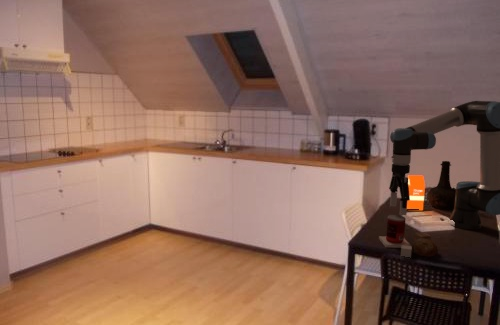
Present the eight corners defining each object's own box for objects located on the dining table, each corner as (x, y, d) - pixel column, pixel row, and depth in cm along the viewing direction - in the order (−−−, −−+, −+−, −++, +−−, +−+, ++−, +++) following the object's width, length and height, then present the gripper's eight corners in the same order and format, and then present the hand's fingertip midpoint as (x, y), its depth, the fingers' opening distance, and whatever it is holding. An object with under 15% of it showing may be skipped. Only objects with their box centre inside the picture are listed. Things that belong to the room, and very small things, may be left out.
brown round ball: (423, 242, 197) (424, 232, 196) (430, 246, 192) (431, 235, 191) (413, 243, 196) (414, 232, 195) (420, 247, 191) (421, 236, 190)
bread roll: (410, 256, 190) (404, 240, 188) (431, 246, 190) (425, 230, 189) (421, 265, 180) (415, 248, 179) (443, 255, 180) (437, 238, 179)
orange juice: (423, 210, 250) (426, 176, 246) (407, 210, 250) (410, 176, 246) (418, 206, 258) (421, 174, 254) (403, 206, 258) (406, 173, 254)
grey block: (410, 255, 181) (411, 246, 181) (410, 258, 178) (411, 249, 177) (400, 253, 183) (401, 244, 182) (400, 257, 179) (401, 248, 178)
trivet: (402, 239, 200) (402, 236, 200) (410, 248, 189) (411, 245, 189) (378, 238, 200) (379, 236, 200) (385, 247, 190) (386, 244, 189)
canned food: (403, 238, 197) (405, 215, 195) (403, 244, 190) (405, 220, 188) (386, 236, 200) (387, 213, 198) (385, 242, 192) (387, 218, 190)
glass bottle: (464, 212, 249) (470, 164, 244) (433, 211, 249) (438, 163, 244) (450, 203, 266) (455, 159, 261) (421, 203, 266) (425, 158, 261)
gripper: (384, 158, 201) (381, 202, 205) (401, 169, 176) (398, 218, 180) (400, 159, 201) (397, 202, 205) (420, 169, 176) (416, 218, 180)
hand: (397, 210), depth 192 cm, fingers open, 13 cm apart
